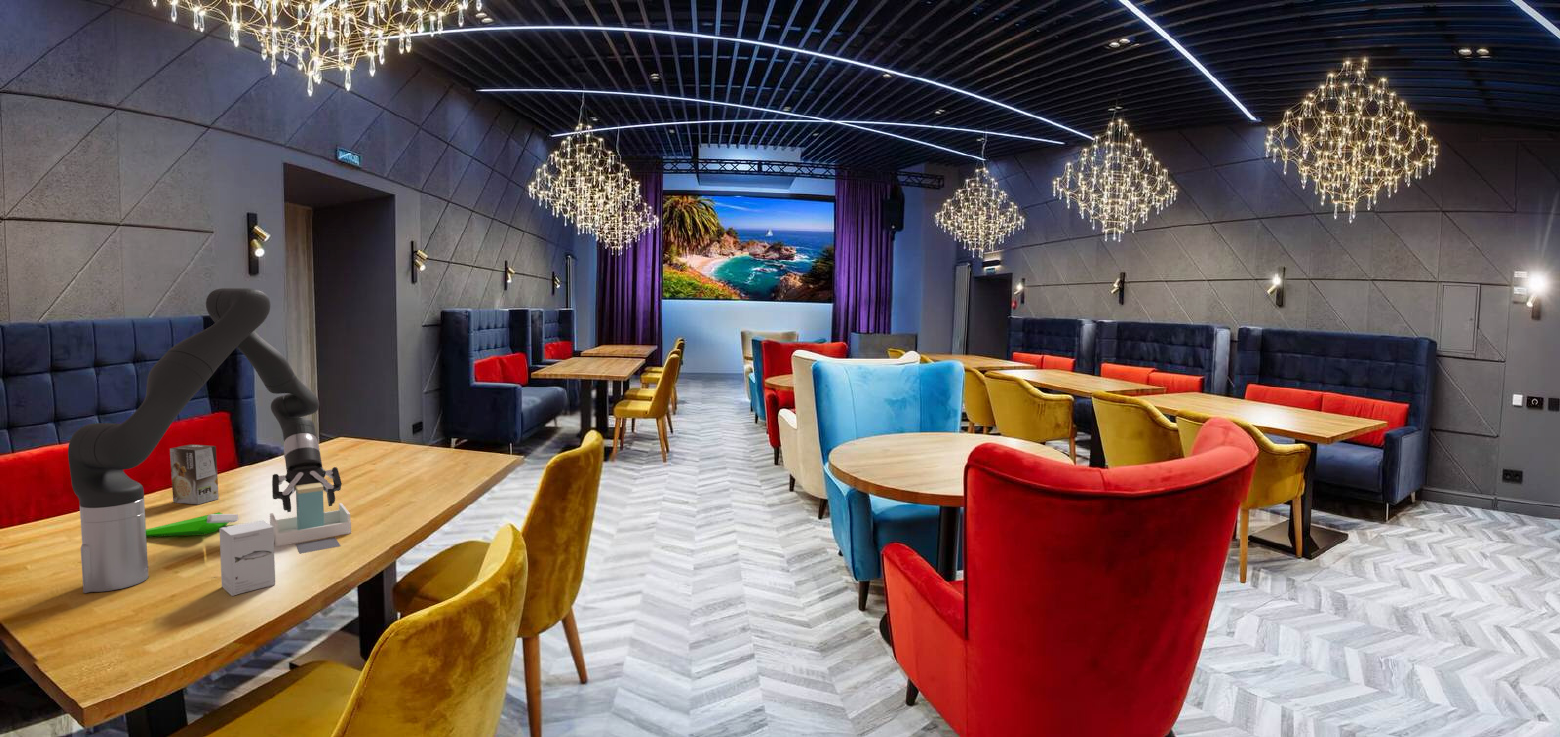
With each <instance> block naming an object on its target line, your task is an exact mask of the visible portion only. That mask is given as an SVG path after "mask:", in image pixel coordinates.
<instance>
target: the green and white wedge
mask: <svg viewBox="0 0 1560 737" xmlns="http://www.w3.org/2000/svg"><path fill="white" fill-rule="evenodd" d="M238 521H239V515H238V514H236V513H222V512H220V511H218V512H215V513H210V514H205V515H202V516H197V517H193V518H188V519H185V520H180V521H177V522H176V521H175V522H172V523H168V524H164V525H159V526H154V527H150V528H148V529H147V528H146V538H151V537H152V538H153V536H155V537H181V536H180V535H188V536H204V535H205V534H206V535H207V534H212V533H215V532H217V531H218V530H219V529H220V528H223V527H226V525H228V524H230V523H236V522H238Z"/></svg>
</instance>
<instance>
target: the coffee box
mask: <svg viewBox="0 0 1560 737" xmlns="http://www.w3.org/2000/svg"><path fill="white" fill-rule="evenodd" d="M169 456H170V457H169V458H170V474H171V488H172V489H171V490H172V491H171V492H172V503H176V504H189V505H201V504H205V503H208V502H209V503H210V502H213V501H217V500H219V499H220V498H219V482H218V476H219V475H218V466H217V465H218V461H217V460H218V459H217V446H216V445H205V444H186V445H181V446H177V447H171V448H169Z"/></svg>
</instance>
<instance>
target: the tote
mask: <svg viewBox="0 0 1560 737" xmlns="http://www.w3.org/2000/svg"><path fill="white" fill-rule="evenodd" d="M269 524H270V525H271V526H273V528H274V546H275V547H281V546H286V545H292V544H298V543H304V542H309V541H315V540H321V539H326V538H332V537H337V536H344V535H350V534H352V522H351V513H350V511H349V510H348V509H347V507H346V506H345V505H344V504H343V503H342V502H339V503H338V509H337V510H336V509H335V510H332V511H331V510H330V511H324V526H319V527H313V528H307V529H301V530H297V516H292V517H291V516H290V517H285V518H278V519H276V517H275V515H274V513H273V512H272V513H271V512H270V513H269Z"/></svg>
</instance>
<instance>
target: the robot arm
mask: <svg viewBox="0 0 1560 737" xmlns="http://www.w3.org/2000/svg"><path fill="white" fill-rule="evenodd" d="M205 308H206V312H207V313H208V315H209V317H210V318H211V320H212V321H213V322H214V323H213V325H211V326H209V327H207V328H205V329H203V330H202V331H200V332H198V333H196V334H193V335H192V336H191V335H190V336H189V337H187V338H185V339H184V340H182V341H179V342H178V343H177V344H175V345H173V346H172V347H171V348H169V350H167V351H166V352H165V354H164V355H162V356H161V358H160V359H158V361H157V362H156V363H155V364H154V365H153V366H152V367H151V369H150V371H149V373H148V375H147V380H146V390H145V391H146V392H145V397H144V400H143V402H142V403H141V404H140V406H139V407H138V408H137V409H136V410H135V411H134V412H133V413H132V415H130V416H129V417H128V418H127V419H126V420H125V421H123V422H122V423H110V422H109V423H107V422H106V423H105V422H98V423H96V422H95V423H90V424H85V425H83V426H81V427H79V428H78V429H77V430H76V431H75V432H74V433H73V434H72V436H71V438H70V440H69V443H68V447H67V449H68V450H67V458H68V466H69V473H70V478H71V480H70V482H71V487H72V489H73V492H74V494H75V495H76V496H77V499H78V502H79V515H80V517H79V518H80V531H81V533H80V534H81V545H80V557H81V558H80V559H81V573H82V574H81V575H82V578H81V579H82V591H83V594H86V593H87V594H88V593H93V592H94V593H98V592H99V593H100V592H101V593H102V592H109V591H114V590H115V591H116V590H120V589H126V588H128V587H133V586H135V585H138V584H141V583H144V582H145V581H146V580H147V579H149V563H148V562H149V561H148V544H147V537H146V529H147V526H146V509H145V493H144V492H145V491H144V490H145V488H144V486H143V485H142V484H141V483H140V482H138V481H136V480H134V479H132V478H130V476H128V475H127V474H126V473H125V471H124V470H130V469H133V468H135V467H136V468H137V467H138V466H140V465H141V464H142V463H144V462H145V461H146V460H147V458H149V457H150V455H151V454H152V452H153V451H154V450H155V448H156V447H157V446H158V444H159V442H160V441H161V440H162V438H163V437H164V435H165V434H166V432H167V431H168V429H169V428H170V427H171V425H172V423H173V422H174V421H175V419H176V418H177V417H178V416H179V415H180V413H181V412H182V411H183V410H184V408H185V407H186V406H187V405H188V403H189V402H190V401H191V400H192V398H193V397H194V396H195V395H196V394H197V393H198V392H199V391H200V389H202V388H203V387H204V385H205V384H206V383H207V382H208V381H209V379H210V378H211V377H213V375H214V373H216V371H217V369H219V367H220V366H221V365H222V364H223V363H224V361H225V360H226V359H228V357H229V356H230V355H231V354H232V353H233V351H235V349H238V350H239V351H240V352H241V353H242V354H243V355H244V356H245V358H246V360H248V362H249V363H250V365H251V366H252V367H253V369H254V370H255V372H256V374H257V375H258V377H259V379H260V380H261V382H262V383H263V385H264V386H265V388H266V390H267V391H268V392H269V393H271V394H276V395H277V394H284V395H281V396H277V397H275V398H274V399H273V400H272V401H271V404H270V410H271V412H272V414H273V416H274V417H275V419H276V420H277V422H278V424H279V426H280V428H281V431H282V437H283V458H284V463H285V468H286V469H285V470H286V474H285V475H279V474H278V473H274V474H272V480H271V484H272V485H271V487H272V491H271V492H272V500H278V499H279V500H281V501H282V507H283V510H284V511H286V512H287V513H292V504H291V496H292V495H294V493H296V490H295V485H303V484H311V483H319V482H320V483H321V484H322V485H323V489H324V491H323V492H325V493H326V499H327V504H328V507H332V506H333V504H335V501H336V494H335V492H340V491H341V489H342V480H341V476H340V473H339V469H338V467H335V466H334V467H332V469H328V470H327V469H324V468H323V463H322V457H321V451H320V445H319V441H318V439H317V433H316V427H315V424H314V422H313V421H312V419H310V418H306V417H307V416H310V415H313V414H316V413H317V412H318V410H319V408H320V401H319V398H318V397H317V395H316V394H315V393H314V392H313V391H312V390H311V389H310V388H309V387H307V385H306V384H305V383H303V382H302V381H301V380H300V379H299V378H298V377H297V375H296V374H295V372H294V370H293V369H292V367H291V365H290V363H289V362H288V360H287V359H286V357H285V356H284V355H283V354H282V353H281V352H280V351H279V350H278V349H276V348H275V347H274V346H272V345H271V344H270V343H268V342H267V341H266V340H265V339H264V338H262V337H261V336H260V335H259V334H258V333H257V332H256V330H257V329H258V328H259V327H260V326H261V325H262V324H263V323H264V322H265V321H266V319H267V317H268V316H269V314H270V312H271V301H270V298H269V296H268V295H267V294H266V293H265V292H263V291H262V290H259V289H255V288H249V287H248V288H247V287H246V288H245V287H243V288H241V287H240V288H237V287H235V288H234V287H232V288H231V287H226V288H225V287H224V288H223V287H222V288H216V289H214V290H212V291H211V292H209V294H208V295H207V297H206V300H205ZM326 476H328V478H330V479H331V480H332V482H333V484H331V483H330V482H329V481H328V480H327V479H326V478H325V477H326ZM284 481H286V483H288V485H287V487H286V488H285V489H284V490H283V491H280V485H282V484H283V482H284Z"/></svg>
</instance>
